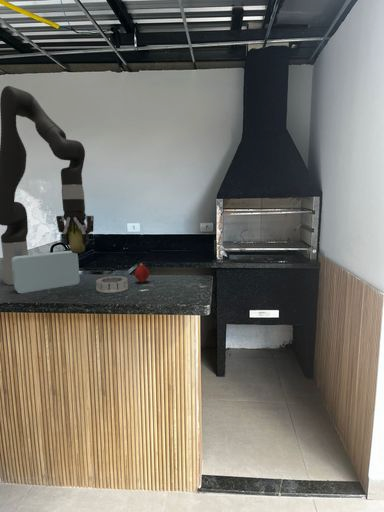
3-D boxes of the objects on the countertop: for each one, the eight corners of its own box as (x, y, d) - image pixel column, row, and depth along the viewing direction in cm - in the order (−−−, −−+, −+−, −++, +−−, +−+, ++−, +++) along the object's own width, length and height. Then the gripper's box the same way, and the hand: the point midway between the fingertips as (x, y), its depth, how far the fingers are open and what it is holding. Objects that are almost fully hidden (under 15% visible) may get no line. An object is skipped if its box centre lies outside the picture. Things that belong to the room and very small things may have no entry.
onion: (142, 280, 144) (142, 261, 143) (152, 282, 141) (151, 263, 139) (132, 282, 140) (131, 263, 138) (141, 285, 136) (141, 265, 135)
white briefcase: (75, 281, 144) (73, 250, 141) (79, 283, 139) (77, 251, 137) (14, 290, 130) (10, 256, 128) (17, 294, 125) (13, 258, 123)
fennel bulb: (67, 253, 125) (64, 220, 123) (80, 251, 129) (77, 219, 126) (75, 254, 121) (72, 221, 119) (87, 252, 125) (85, 220, 122)
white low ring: (90, 292, 127) (89, 283, 126) (105, 283, 138) (105, 275, 138) (120, 294, 124) (119, 284, 124) (133, 285, 136) (132, 276, 135)
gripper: (49, 198, 119) (53, 245, 122) (85, 197, 116) (89, 246, 119) (61, 198, 127) (65, 242, 130) (96, 197, 123) (99, 243, 126)
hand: (77, 244), depth 124 cm, fingers closed on fennel bulb, 6 cm apart
